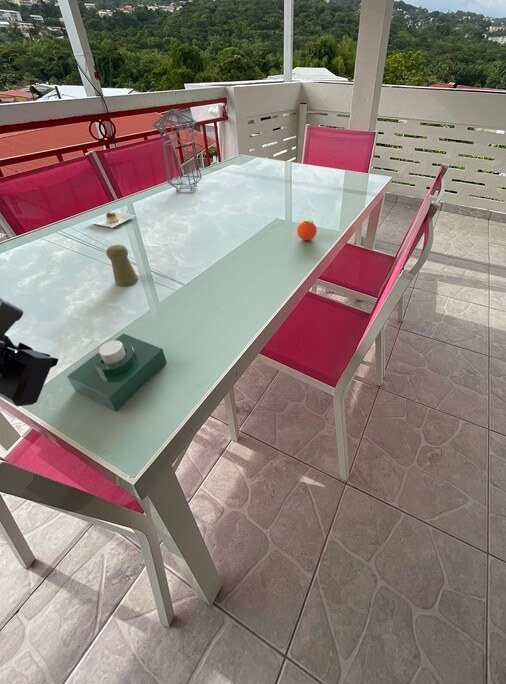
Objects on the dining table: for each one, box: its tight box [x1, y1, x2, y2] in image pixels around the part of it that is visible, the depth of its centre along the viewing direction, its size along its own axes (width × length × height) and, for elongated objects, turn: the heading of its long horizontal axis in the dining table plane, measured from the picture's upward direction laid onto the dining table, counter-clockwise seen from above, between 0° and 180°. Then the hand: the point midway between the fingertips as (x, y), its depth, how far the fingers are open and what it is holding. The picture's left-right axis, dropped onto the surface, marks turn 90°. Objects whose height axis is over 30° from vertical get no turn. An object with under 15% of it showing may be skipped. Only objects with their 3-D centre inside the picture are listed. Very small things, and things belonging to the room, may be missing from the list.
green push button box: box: [66, 332, 168, 413], centre depth 65 cm, size 13×11×6 cm
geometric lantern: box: [151, 108, 203, 194], centre depth 151 cm, size 16×16×35 cm
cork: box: [105, 244, 139, 288], centre depth 92 cm, size 6×6×11 cm
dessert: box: [87, 209, 136, 229], centre depth 128 cm, size 12×12×5 cm
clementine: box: [296, 219, 318, 241], centre depth 117 cm, size 8×7×7 cm
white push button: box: [98, 339, 126, 365], centre depth 63 cm, size 4×4×2 cm
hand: (52, 359), depth 52 cm, fingers closed
